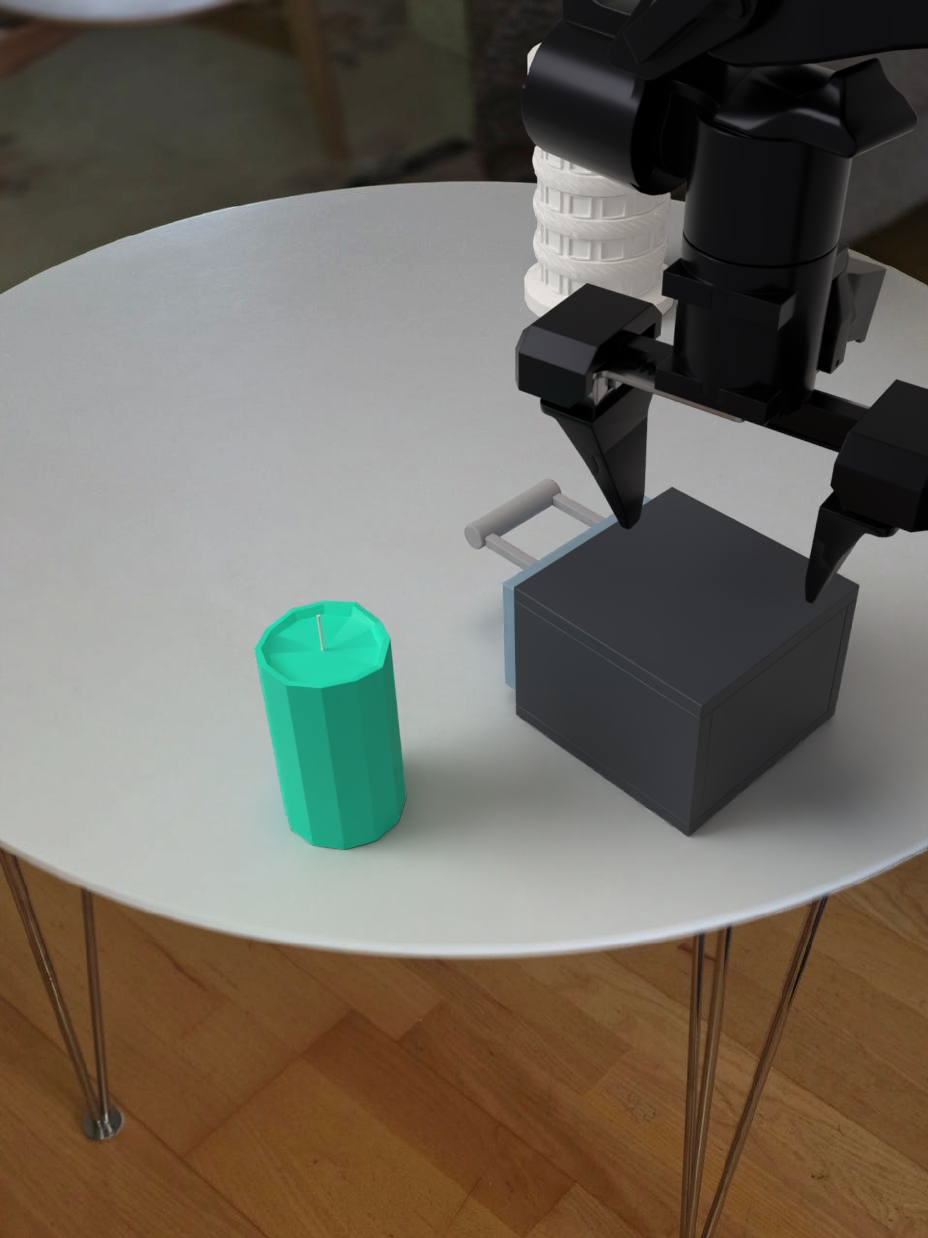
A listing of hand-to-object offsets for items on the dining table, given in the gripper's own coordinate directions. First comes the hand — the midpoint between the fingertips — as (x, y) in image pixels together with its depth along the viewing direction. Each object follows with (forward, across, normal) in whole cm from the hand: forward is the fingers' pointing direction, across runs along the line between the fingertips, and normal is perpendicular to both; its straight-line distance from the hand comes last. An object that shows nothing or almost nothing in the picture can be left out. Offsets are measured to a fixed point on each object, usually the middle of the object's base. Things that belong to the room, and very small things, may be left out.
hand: (719, 559), depth 61 cm
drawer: (+11, +6, -2) cm, 13 cm away
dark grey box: (+12, +2, -1) cm, 12 cm away
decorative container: (+13, +30, -38) cm, 50 cm away
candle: (+12, +12, +13) cm, 22 cm away
